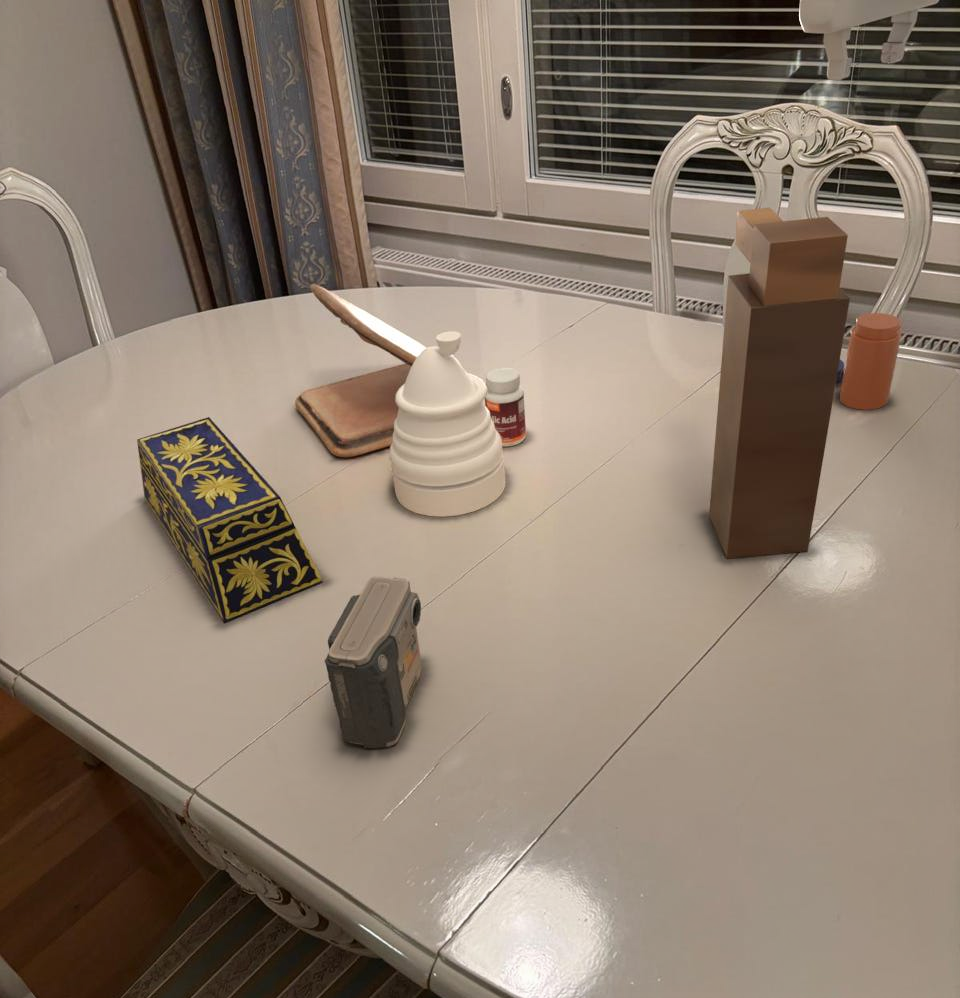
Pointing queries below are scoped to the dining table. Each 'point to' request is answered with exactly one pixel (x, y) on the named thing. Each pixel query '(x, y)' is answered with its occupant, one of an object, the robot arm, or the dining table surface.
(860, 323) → the jar
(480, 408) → the honey pot
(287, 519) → the decorative box
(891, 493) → the dining table surface
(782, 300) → the brown wooden block
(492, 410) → the pill bottle
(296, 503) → the dining table surface
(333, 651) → the camera
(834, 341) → the pedestal
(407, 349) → the case
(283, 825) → the dining table surface
